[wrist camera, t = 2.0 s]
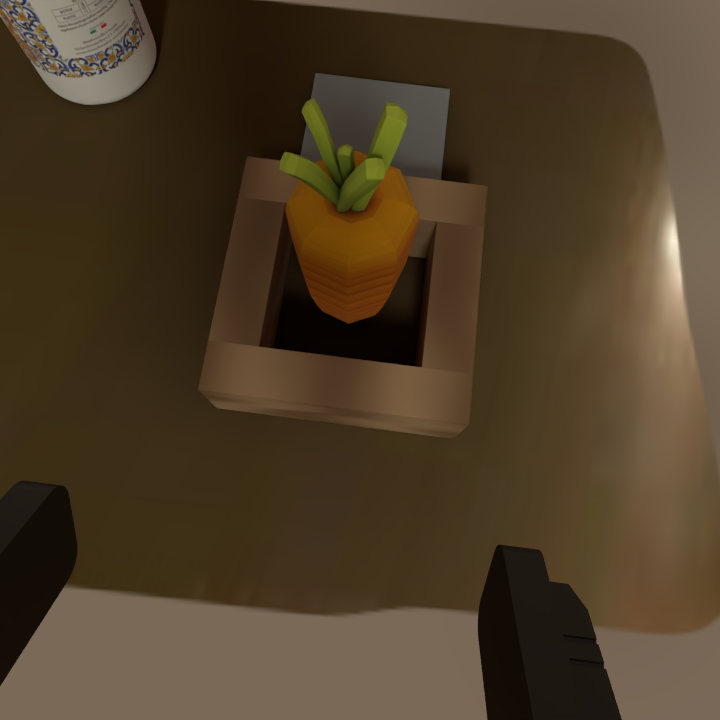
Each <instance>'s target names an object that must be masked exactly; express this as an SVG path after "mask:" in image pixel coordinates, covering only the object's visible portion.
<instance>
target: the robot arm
mask: <svg viewBox="0 0 720 720" xmlns="http://www.w3.org/2000/svg"><path fill="white" fill-rule="evenodd" d="M76 557H77V540H76V534H75V528H74V522H73V516H72V510H71V505H70V499H69V494H68V491H67V489H66V488H65V487H64V486H61V485H53V484H45V483H38V482H30V481H20V482H18V483H16V484H15V485H14V486H13V487H12V488H11V489H10V490H9V491H8V492H7V493H6V494H5V496H4V497H3V498H2V499H1V500H0V686H1V684H2V682H3V681H4V679H5V678H6V676H7V675H8V673H9V672H10V670H11V668H12V667H13V665H14V664H15V662H16V660H17V659H18V657H19V656H20V654H21V653H22V651H23V649H24V648H25V647H26V645H27V644H28V642H29V640H30V639H31V637H32V636H33V634H34V633H35V631H36V630H37V628H38V626H39V625H40V623H41V622H42V620H43V619H44V617H45V615H46V614H47V612H48V611H49V609H50V608H51V606H52V605H53V603H54V601H55V600H56V598H57V597H58V595H59V593H60V592H61V591H62V589H63V587H64V586H65V584H66V583H67V581H68V579H69V578H70V576H71V574H72V571H73V569H74V565H75V562H76ZM478 638H479V647H480V656H481V665H482V673H483V683H484V692H485V701H486V709H487V719H488V720H622V719H621V716H620V713H619V709H618V706H617V703H616V700H615V697H614V693H613V690H612V687H611V684H610V680H609V677H608V674H607V671H606V669H604V661H603V658H602V655H601V651H600V648H599V645H598V644H596V635H595V632H594V629H593V626H592V622H591V619H590V616H589V613H588V610H587V609H586V607H585V606H584V604H583V603H582V602H581V600H580V599H579V598H578V596H577V595H576V594H575V592H574V591H573V590H572V588H571V587H570V586H569V584H564V583H556V582H550V581H549V577H548V573H547V569H546V566H545V562H544V558H543V555H542V553H541V551H540V550H536V549H529V548H521V547H513V546H506V545H497V547H496V549H495V552H494V555H493V558H492V562H491V565H490V569H489V572H488V576H487V579H486V583H485V586H484V590H483V593H482V597H481V601H480V606H479V614H478Z"/></svg>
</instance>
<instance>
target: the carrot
mask: <svg viewBox="0 0 720 720" xmlns="http://www.w3.org/2000/svg"><path fill="white" fill-rule="evenodd" d="M302 114H303V116H304V118H305V121H306V123H307V125H308V127H309V129H310V131H311V133H312V134H313V137H314V139H315V142H316V144H317V147H318V149H319V152H320V154H321V157H322V159H323V160H321V161H318V162H314V163H313V162H311V161H310V160H308V159H306V158H304V157H303V156H301V155H296V154H292V153H288V152H284V154H283V156H282V158H281V160H280V167H279V169H280V170H282V171H283V172H285V173H287V174H289V175H290V176H292V177H294V178H296V179H299V180H300V182H299V184H298V185H297V187H296V189H295V190H294V192H293V194H292V195H291V197H290V199H289V200H288V202H287V205H286V217H287V221H288V225H289V229H290V233H291V238H292V241H293V244H294V248H295V251H296V254H297V258H298V260H299V263H300V266H301V269H302V272H303V275H304V278H305V281H306V284H307V287H308V290H309V293H310V295H311V297H312V298H313V300H314V301H315V303H316V304H317V305H318V307H319V308H320V309H321V310H322V311H323V312H325V313H327V314H329V315H331V316H333V317H335V318H337V319H339V320H342V321H344V322H346V323H348V324H349V323H353V322H356V321H359V320H362V319H365V318H369V317H372V316H375V315H376V314H377V313H378V312H379V311H380V310H381V308H382V307H383V305H384V304H385V302H386V301H387V299H388V298H389V296H390V294H391V292H392V290H393V288H394V286H395V284H396V282H397V280H398V278H399V276H400V274H401V272H402V270H403V268H404V266H405V264H406V261H407V258H408V256H409V253H410V250H411V247H412V244H413V240H414V237H415V233H416V230H417V226H418V223H419V215H418V212H417V209H416V207H415V205H414V202H413V200H412V197H411V195H410V192H409V190H408V188H407V185H406V183H405V180H404V178H403V175H402V173H401V171H400V169H398V168H395V167H393V166H391V165H390V163H391V161H392V159H393V157H394V155H395V153H396V150H397V148H398V146H399V143H400V141H401V138H402V136H403V133H404V130H405V128H406V125H407V119H408V116H407V113H406V111H405V110H404V109H402V108H401V107H400V106H399V105H398V104H396V103H390V102H386V103H385V106H384V109H383V111H382V114H381V117H380V119H379V122H378V125H377V128H376V131H375V134H374V137H373V140H372V143H371V146H370V149H369V152H368V155H366V154H363V153H361V152H359V151H353V147H352V146H349V145H347V144H346V145H342V146H340V147H339V148H338V156H337V154H336V150H335V147H334V143H333V140H332V137H331V134H330V130H329V127H328V124H327V122H326V120H325V117H324V115H323V113H322V111H321V109H320V107H319V105H318V104H317V102H316V100H315V99H314V98H313V99H311V100H309V101H307V102H306V103H305V105H304V106H303V108H302Z"/></svg>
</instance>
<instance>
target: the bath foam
mask: <svg viewBox="0 0 720 720" xmlns="http://www.w3.org/2000/svg"><path fill="white" fill-rule="evenodd" d="M141 5H142V4H141V2H140V0H0V16H1V18H2V19H3V21H4V22H5V24H6V25H7V27H8V28H9V30H10V31H11V33H12V34H13V36H14V37H15V39H16V40H17V42H18V43H19V45H20V46H21V48H22V49H23V51H24V52H25V54H26V55H27V57H28V58H29V59H30V61H31V62H32V64H33V65H34V67H35V68H36V70H37V71H38V73H39V74H40V76H41V77H42V79H43V80H44V81H45V83H46V84H47V85H48V86H49V87H50V88H51V89H52V90H53V91H54V92H55V93H57V94H58V95H59V96H61V97H63V98H65V99H67V100H69V101H72V102H75V103H79V104H85V105H97V104H106V103H112V102H116V101H119V100H121V99H123V98H126V97H127V96H129V95H131V94H132V93H134V92H135V91H137V90H138V89H139V88H140V87H141V86H142V85H143V84H144V83H145V82H146V80H147V79H148V78H149V76H150V74H151V72H152V70H153V68H154V65H155V61H156V44H155V40H154V37H153V34H152V32H151V29H150V26H149V24H148V21H147V19H146V16H145V13H144V11H143V8H142V6H141Z"/></svg>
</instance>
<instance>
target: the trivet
mask: <svg viewBox="0 0 720 720" xmlns="http://www.w3.org/2000/svg"><path fill="white" fill-rule="evenodd" d="M449 94H450V89H444V88H436V87H428V86H420V85H411V84H403V83H395V82H386V81H378V80H370V79H361V78H353V77H345V76H336V75H328V74H320V73H315V79H314V84H313V90H312V95H311V99H313V98H314V99H315V100H316V102H317V104H318V105H319V107H320V109H321V111H322V113H323V115H324V117H325V120H326V122H327V124H328V127H329V130H330V134H331V137H332V140H333V143H334V147H335V150H336V154H337V156H338V148H339V147H340V146H342V145H346V144H347V145H349V146H352V147H353V151H359V152H361V153H363V154H366V155H368V152H369V149H370V146H371V143H372V140H373V137H374V134H375V131H376V128H377V125H378V122H379V119H380V117H381V114H382V111H383V109H384V106H385V103H386V102H390V103H396V104H398V105H399V106H400V107H401V108H402V109H404V110H405V111H406V113H407V116H408V119H407V125H406V128H405V130H404V133H403V136H402V138H401V141H400V143H399V146H398V148H397V150H396V153H395V155H394V157H393V159H392V161H391V163H390V165H391V166H393V167H395V168H398V169H400V171H401V173H402V175H403V176H410V177H418V178H426V179H434V180H441V173H442V163H443V153H444V143H445V133H446V123H447V114H448V104H449ZM301 156H303V157H304V158H306V159H308V160H310V161H311V162H313V163H314V162H318V161H321V160H323V159H322V157H321V154H320V152H319V149H318V147H317V144H316V142H315V139H314V137H313V134H312V133H311V131H310V129H309V127H308V125H307V123H306V129H305V134H304V140H303V145H302V151H301Z"/></svg>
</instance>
